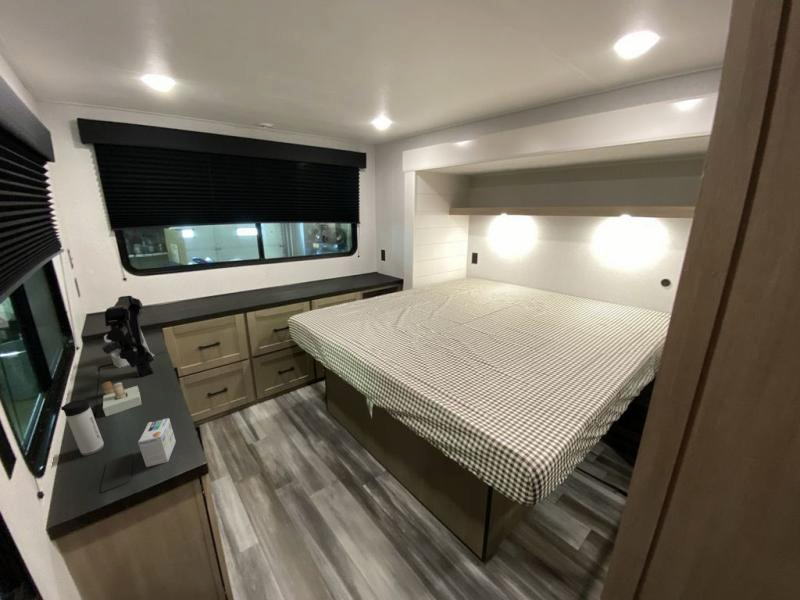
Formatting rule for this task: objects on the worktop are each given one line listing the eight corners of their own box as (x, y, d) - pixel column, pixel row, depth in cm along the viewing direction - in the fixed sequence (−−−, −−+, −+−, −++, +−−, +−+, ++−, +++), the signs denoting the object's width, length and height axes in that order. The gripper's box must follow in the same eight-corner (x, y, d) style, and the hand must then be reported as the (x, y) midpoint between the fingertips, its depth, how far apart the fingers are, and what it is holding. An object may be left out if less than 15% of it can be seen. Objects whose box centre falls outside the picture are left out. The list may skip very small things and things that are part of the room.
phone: (99, 493, 100) (106, 462, 111) (100, 495, 100) (107, 463, 112) (130, 481, 104) (133, 452, 115) (130, 483, 104) (134, 454, 116)
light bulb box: (155, 446, 119) (147, 421, 115) (176, 441, 121) (169, 417, 118) (145, 468, 109) (136, 442, 106) (168, 462, 111) (160, 436, 108)
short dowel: (106, 394, 152) (102, 383, 150) (115, 391, 154) (111, 380, 152) (105, 397, 149) (101, 386, 148) (114, 394, 151) (110, 383, 149)
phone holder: (117, 369, 175) (107, 338, 169) (112, 364, 180) (102, 334, 175) (155, 356, 188) (147, 327, 182) (148, 351, 194) (140, 324, 188)
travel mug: (77, 452, 116) (57, 405, 110) (99, 441, 122) (82, 395, 116) (84, 458, 114) (65, 410, 107) (107, 446, 119) (90, 400, 113)
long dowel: (119, 403, 144) (112, 384, 141) (128, 400, 146) (121, 381, 143) (119, 407, 142) (112, 387, 139) (128, 404, 144) (121, 384, 141)
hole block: (106, 403, 145) (103, 395, 143) (139, 393, 152) (137, 385, 151) (105, 416, 136) (102, 408, 135) (141, 404, 143) (139, 396, 142)
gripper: (100, 332, 151) (110, 362, 155) (99, 345, 137) (110, 377, 142) (130, 326, 157) (139, 354, 162) (132, 337, 144) (142, 368, 149)
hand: (132, 363), depth 154 cm, fingers open, 9 cm apart
